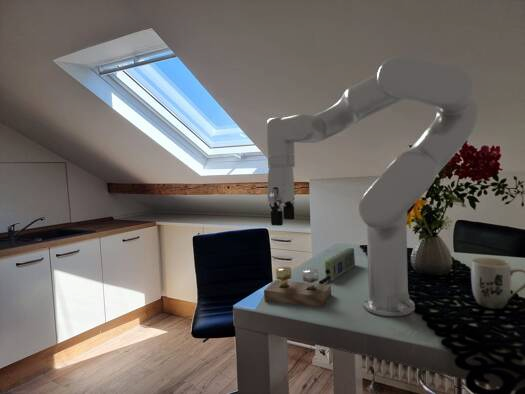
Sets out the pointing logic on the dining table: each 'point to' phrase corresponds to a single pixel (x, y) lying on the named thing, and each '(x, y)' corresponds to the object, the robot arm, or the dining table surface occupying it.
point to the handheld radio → (338, 265)
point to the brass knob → (283, 275)
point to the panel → (298, 293)
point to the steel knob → (310, 277)
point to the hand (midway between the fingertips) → (283, 222)
